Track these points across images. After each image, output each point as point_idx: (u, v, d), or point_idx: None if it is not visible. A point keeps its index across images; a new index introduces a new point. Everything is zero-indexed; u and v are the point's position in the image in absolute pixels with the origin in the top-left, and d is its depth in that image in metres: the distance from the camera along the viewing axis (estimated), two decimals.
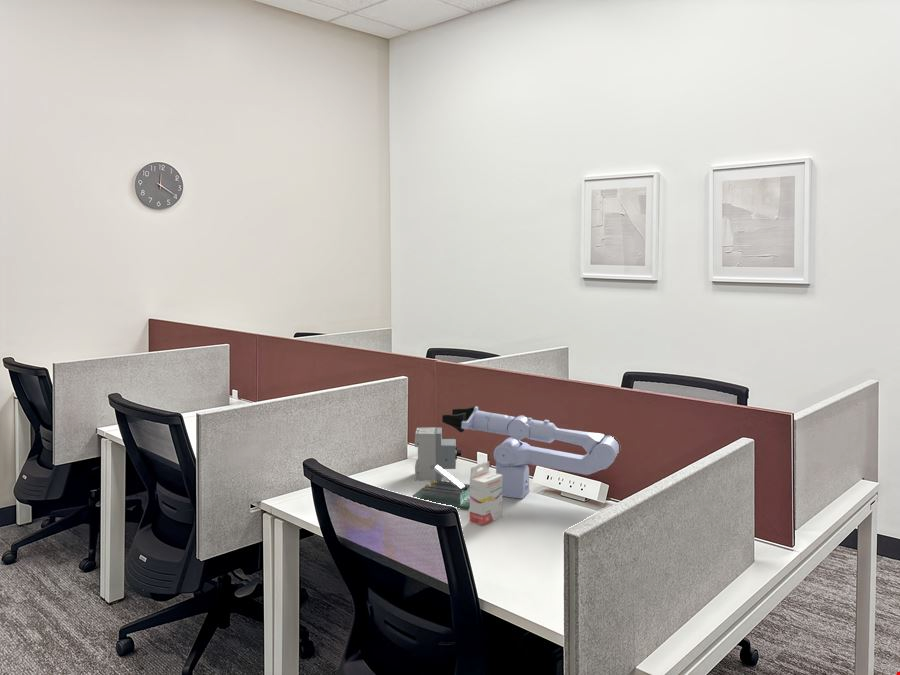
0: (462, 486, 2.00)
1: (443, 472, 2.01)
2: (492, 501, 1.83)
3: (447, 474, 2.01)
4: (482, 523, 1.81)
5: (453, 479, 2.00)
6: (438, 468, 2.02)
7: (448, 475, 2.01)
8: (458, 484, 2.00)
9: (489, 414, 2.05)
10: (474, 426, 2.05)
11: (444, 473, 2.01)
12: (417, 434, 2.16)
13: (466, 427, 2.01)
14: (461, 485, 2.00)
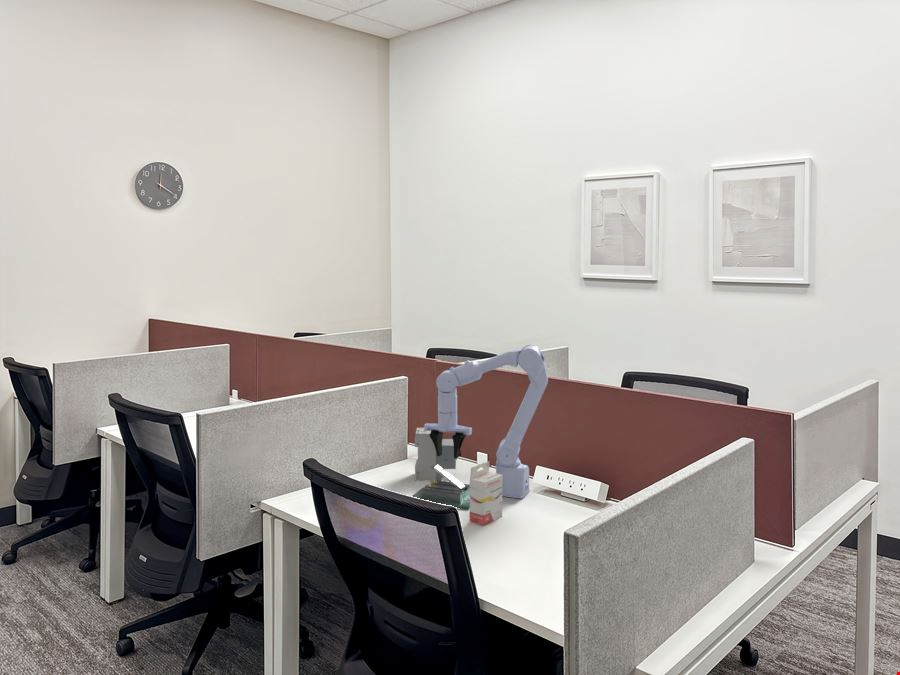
0: (462, 486, 2.00)
1: (443, 472, 2.01)
2: (492, 501, 1.83)
3: (447, 474, 2.01)
4: (482, 523, 1.81)
5: (453, 479, 2.00)
6: (438, 468, 2.02)
7: (448, 475, 2.01)
8: (458, 484, 2.00)
9: (447, 414, 2.04)
10: None
11: (444, 473, 2.01)
12: (417, 434, 2.16)
13: (471, 429, 2.05)
14: (461, 485, 2.00)
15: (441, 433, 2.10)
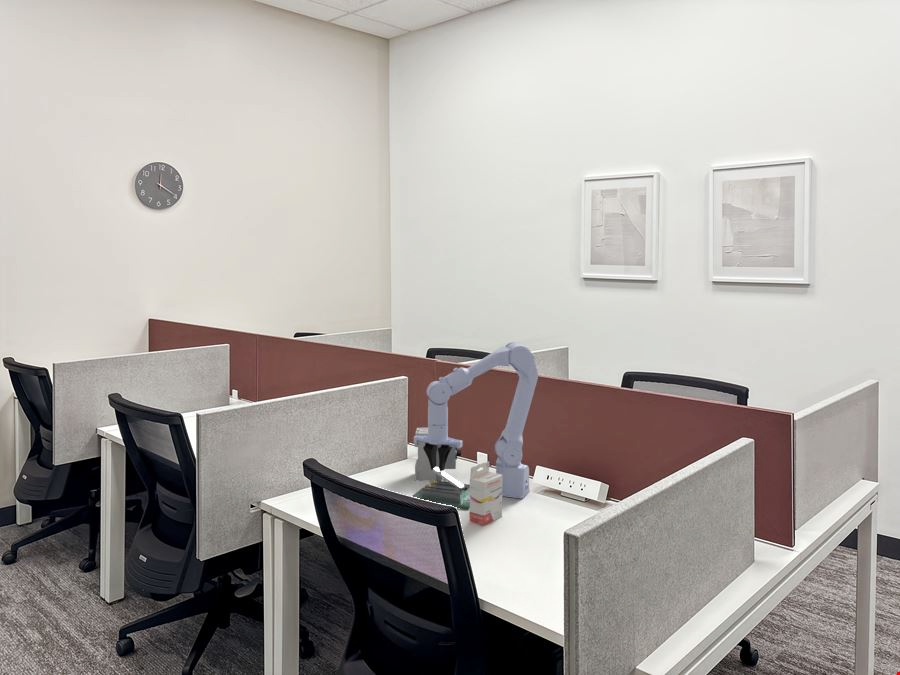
0: (462, 486, 2.00)
1: (442, 473, 2.01)
2: (492, 501, 1.83)
3: (446, 475, 2.01)
4: (482, 523, 1.81)
5: (453, 480, 2.01)
6: (437, 469, 2.02)
7: (447, 476, 2.01)
8: (458, 484, 2.00)
9: (437, 426, 1.98)
10: (447, 437, 2.01)
11: (443, 474, 2.01)
12: (417, 434, 2.16)
13: (461, 441, 1.99)
14: (461, 485, 2.00)
15: (435, 446, 2.03)
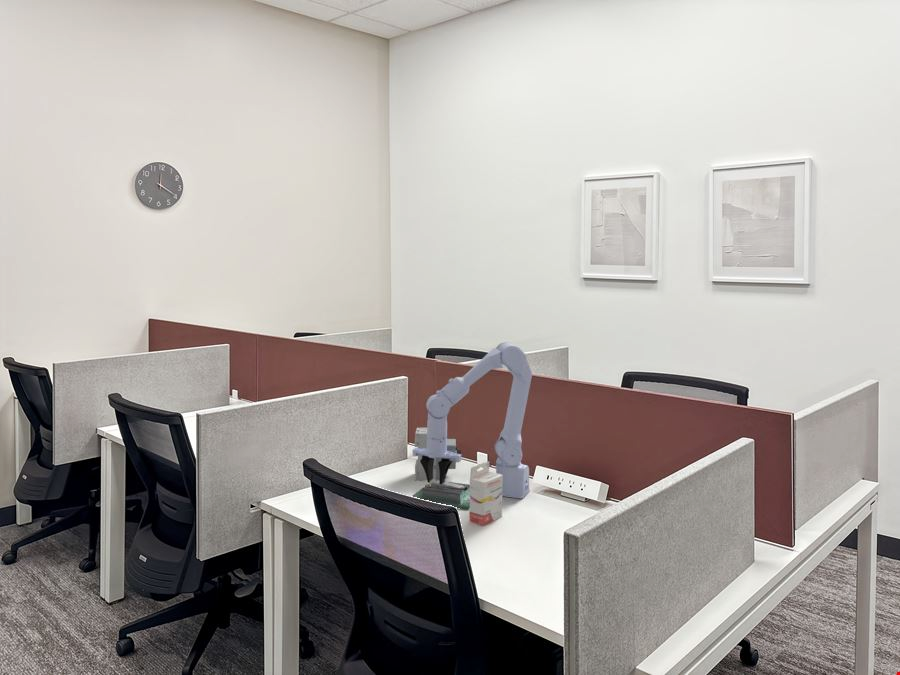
0: (461, 486, 2.00)
1: None
2: (492, 501, 1.83)
3: (444, 482, 2.02)
4: (482, 523, 1.81)
5: (451, 484, 2.01)
6: (433, 480, 2.03)
7: (445, 483, 2.02)
8: (457, 486, 2.00)
9: (436, 440, 1.98)
10: (446, 450, 2.02)
11: None
12: (417, 434, 2.16)
13: (460, 455, 1.99)
14: (460, 486, 2.00)
15: (432, 459, 2.04)
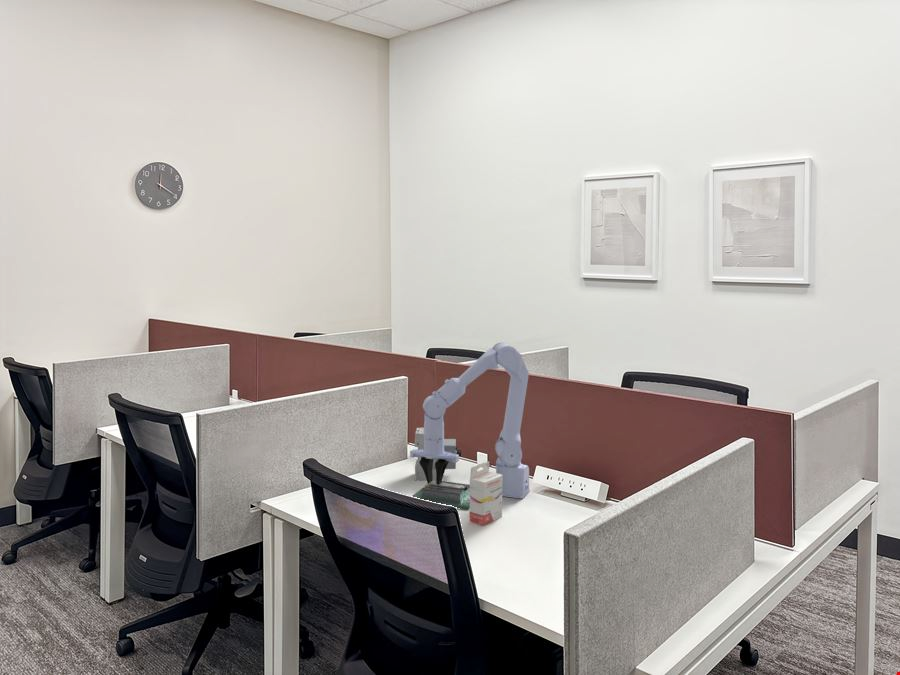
0: (461, 486, 2.00)
1: (439, 484, 2.02)
2: (492, 501, 1.83)
3: (444, 483, 2.02)
4: (482, 523, 1.81)
5: (451, 485, 2.01)
6: (433, 482, 2.03)
7: (445, 484, 2.02)
8: (457, 486, 2.00)
9: (433, 440, 1.99)
10: (444, 451, 2.02)
11: (440, 484, 2.02)
12: (417, 434, 2.16)
13: (458, 456, 2.00)
14: (460, 486, 2.00)
15: (431, 460, 2.04)
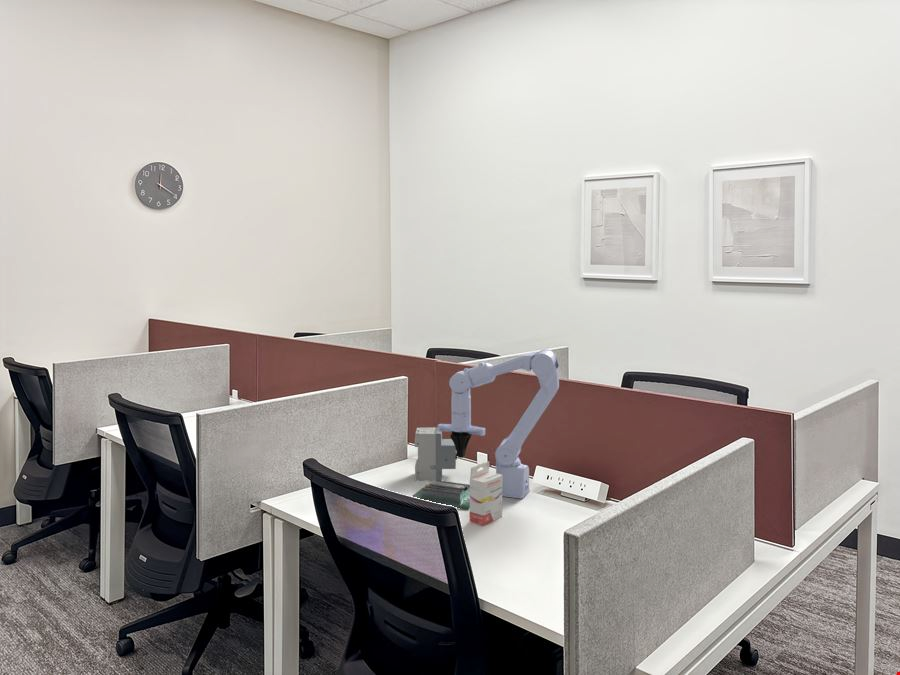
0: (461, 486, 2.00)
1: (439, 483, 2.02)
2: (492, 501, 1.83)
3: (444, 483, 2.02)
4: (482, 523, 1.81)
5: (451, 485, 2.01)
6: (433, 482, 2.03)
7: (445, 484, 2.02)
8: (457, 486, 2.00)
9: (460, 414, 2.04)
10: (470, 425, 2.08)
11: (440, 484, 2.02)
12: (417, 434, 2.16)
13: (484, 429, 2.05)
14: (460, 486, 2.00)
15: None
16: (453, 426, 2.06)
